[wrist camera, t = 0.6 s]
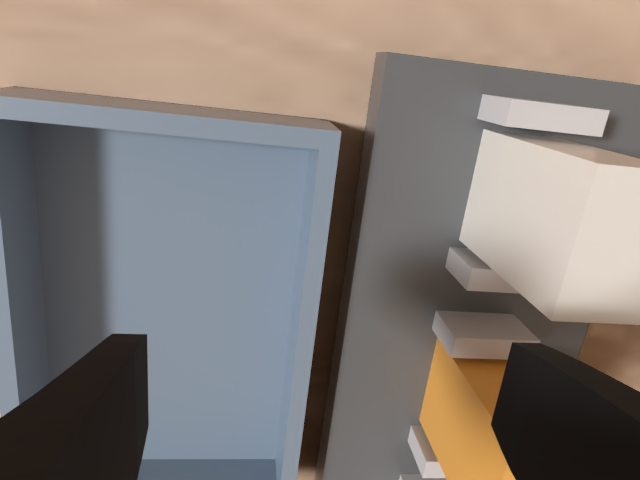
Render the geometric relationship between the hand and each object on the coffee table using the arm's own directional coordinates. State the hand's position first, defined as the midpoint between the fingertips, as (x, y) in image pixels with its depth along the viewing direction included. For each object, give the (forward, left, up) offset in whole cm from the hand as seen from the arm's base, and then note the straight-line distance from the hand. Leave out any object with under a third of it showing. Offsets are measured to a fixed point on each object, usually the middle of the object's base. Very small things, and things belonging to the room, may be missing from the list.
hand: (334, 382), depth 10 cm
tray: (-4, +4, -10) cm, 11 cm away
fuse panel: (-6, -7, -10) cm, 13 cm away
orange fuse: (-6, -7, -8) cm, 12 cm away
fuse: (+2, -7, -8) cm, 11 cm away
